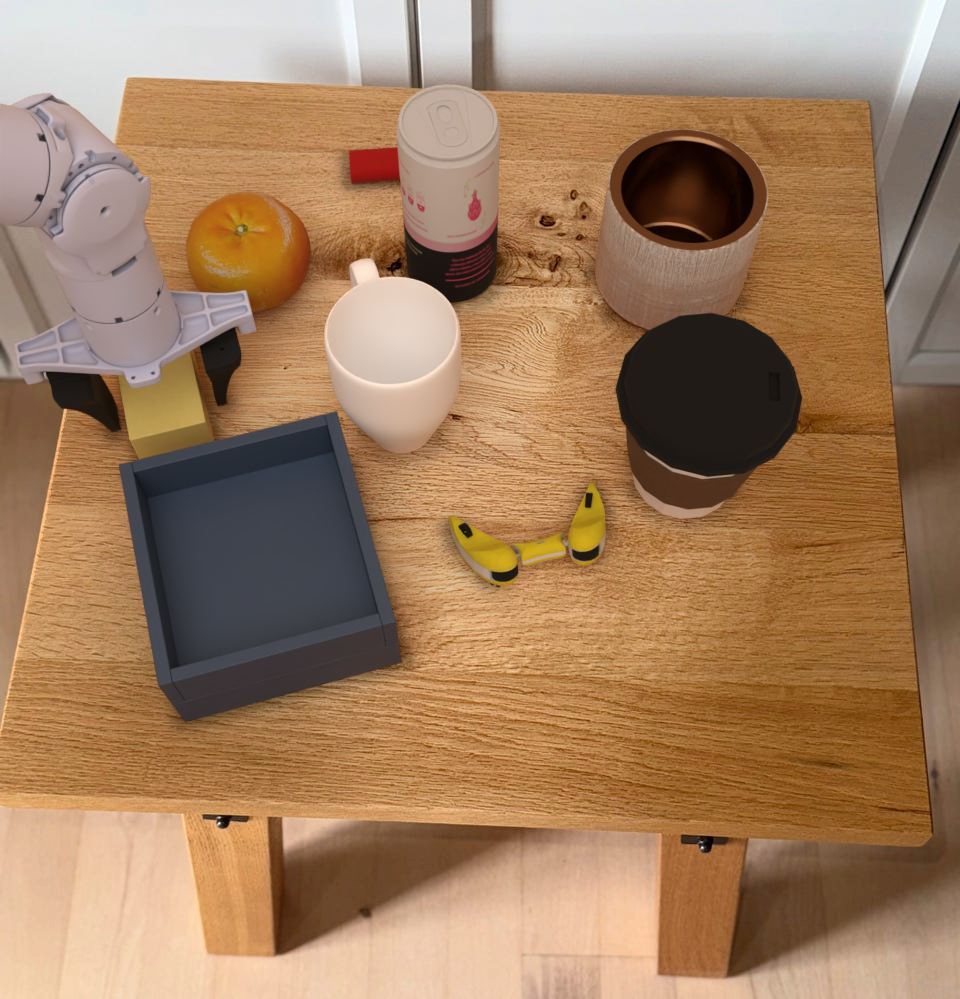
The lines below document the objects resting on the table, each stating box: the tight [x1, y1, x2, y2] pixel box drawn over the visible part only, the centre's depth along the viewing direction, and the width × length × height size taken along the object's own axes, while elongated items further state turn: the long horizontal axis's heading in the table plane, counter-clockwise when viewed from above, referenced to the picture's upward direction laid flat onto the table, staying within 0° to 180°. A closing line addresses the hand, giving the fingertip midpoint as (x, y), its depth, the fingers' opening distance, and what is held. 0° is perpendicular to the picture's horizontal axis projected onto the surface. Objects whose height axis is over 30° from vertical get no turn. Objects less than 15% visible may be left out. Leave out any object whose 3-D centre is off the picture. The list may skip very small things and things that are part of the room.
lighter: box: [348, 147, 400, 184], centre depth 92 cm, size 3×1×8 cm
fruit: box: [185, 190, 312, 313], centre depth 85 cm, size 8×8×8 cm
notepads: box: [117, 349, 215, 460], centre depth 81 cm, size 5×8×4 cm, turn 16°
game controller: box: [448, 481, 607, 589], centre depth 77 cm, size 10×6×4 cm, turn 106°
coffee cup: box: [615, 313, 803, 520], centre depth 75 cm, size 11×11×12 cm
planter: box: [594, 128, 769, 331], centre depth 84 cm, size 11×11×10 cm
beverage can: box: [395, 83, 501, 304], centre depth 82 cm, size 6×6×15 cm
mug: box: [323, 257, 462, 454], centre depth 78 cm, size 12×8×11 cm
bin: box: [118, 410, 403, 723], centre depth 74 cm, size 14×15×7 cm
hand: (167, 406), depth 83 cm, fingers open, 7 cm apart
